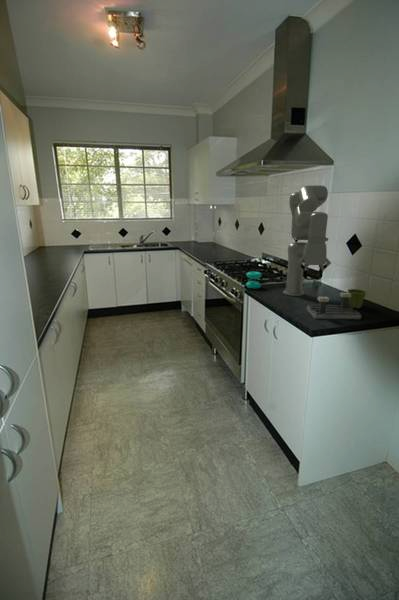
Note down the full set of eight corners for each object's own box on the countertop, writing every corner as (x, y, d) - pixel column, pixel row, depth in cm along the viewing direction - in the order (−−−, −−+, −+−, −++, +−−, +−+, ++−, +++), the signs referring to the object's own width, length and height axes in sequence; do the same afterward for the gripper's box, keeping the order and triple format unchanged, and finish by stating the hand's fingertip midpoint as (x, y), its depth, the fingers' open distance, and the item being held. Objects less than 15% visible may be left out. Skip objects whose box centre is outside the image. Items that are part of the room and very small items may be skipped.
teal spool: (254, 270, 215) (264, 273, 207) (253, 284, 218) (263, 287, 210) (243, 272, 210) (253, 274, 202) (242, 286, 213) (252, 289, 205)
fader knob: (316, 311, 157) (317, 296, 155) (325, 311, 157) (326, 296, 155) (318, 313, 154) (320, 298, 152) (327, 313, 154) (329, 298, 152)
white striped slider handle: (338, 306, 165) (340, 292, 162) (346, 306, 164) (348, 292, 162) (340, 308, 161) (342, 294, 159) (349, 308, 161) (351, 294, 159)
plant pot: (368, 308, 169) (371, 292, 166) (354, 310, 166) (356, 294, 164) (355, 303, 178) (358, 288, 175) (341, 304, 175) (343, 289, 172)
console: (306, 309, 167) (307, 304, 166) (348, 310, 166) (349, 304, 166) (315, 318, 154) (315, 313, 153) (360, 319, 153) (361, 313, 152)
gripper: (332, 239, 149) (327, 276, 154) (295, 239, 149) (292, 276, 155) (338, 241, 142) (333, 280, 147) (299, 241, 142) (296, 280, 148)
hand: (312, 278), depth 151 cm, fingers open, 6 cm apart
